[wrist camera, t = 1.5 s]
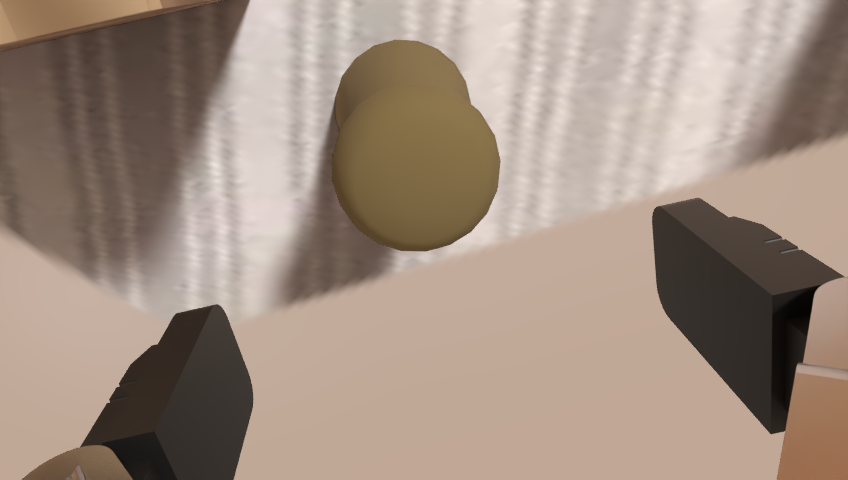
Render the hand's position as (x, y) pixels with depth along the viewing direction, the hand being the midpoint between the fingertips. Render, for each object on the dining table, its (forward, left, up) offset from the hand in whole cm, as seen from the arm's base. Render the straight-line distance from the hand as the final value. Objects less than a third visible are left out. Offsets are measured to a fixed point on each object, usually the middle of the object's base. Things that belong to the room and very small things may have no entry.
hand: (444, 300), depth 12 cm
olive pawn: (0, 0, -18) cm, 18 cm away
